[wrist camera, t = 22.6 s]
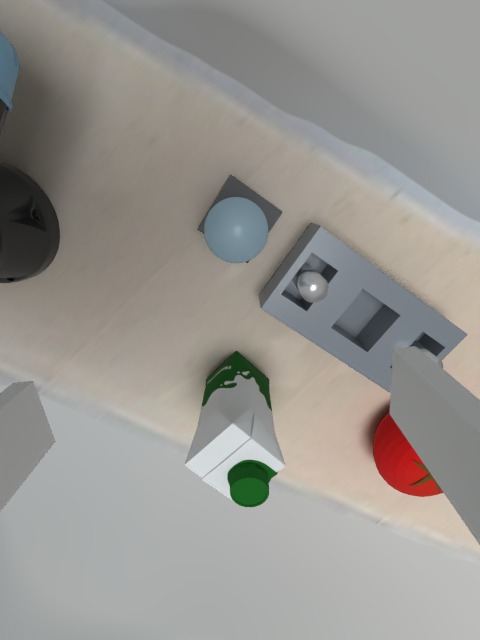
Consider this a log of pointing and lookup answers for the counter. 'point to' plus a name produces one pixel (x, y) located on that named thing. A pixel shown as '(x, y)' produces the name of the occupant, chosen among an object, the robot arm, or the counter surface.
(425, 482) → the tomato
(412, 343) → the plunger
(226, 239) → the cartridge
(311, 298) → the plunger
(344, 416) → the counter surface
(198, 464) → the milk carton
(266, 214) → the mat
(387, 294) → the housing
